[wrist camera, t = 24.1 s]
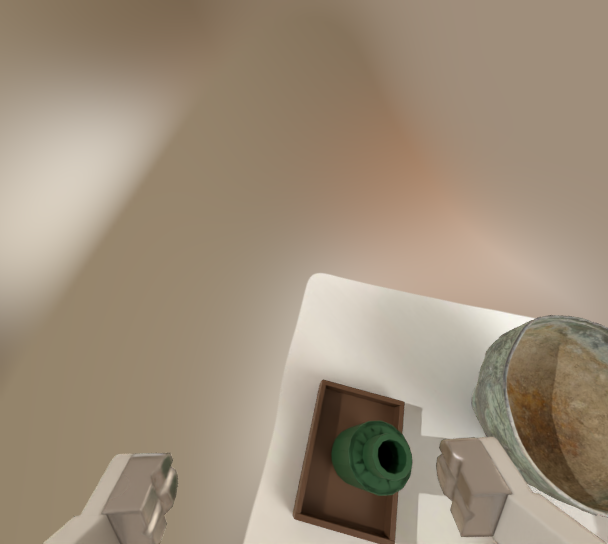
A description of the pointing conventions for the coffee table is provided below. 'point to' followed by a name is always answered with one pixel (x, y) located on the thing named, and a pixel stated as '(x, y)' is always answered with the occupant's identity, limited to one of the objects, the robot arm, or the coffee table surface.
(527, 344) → the bowl
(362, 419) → the tray
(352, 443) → the bottle
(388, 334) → the coffee table surface
